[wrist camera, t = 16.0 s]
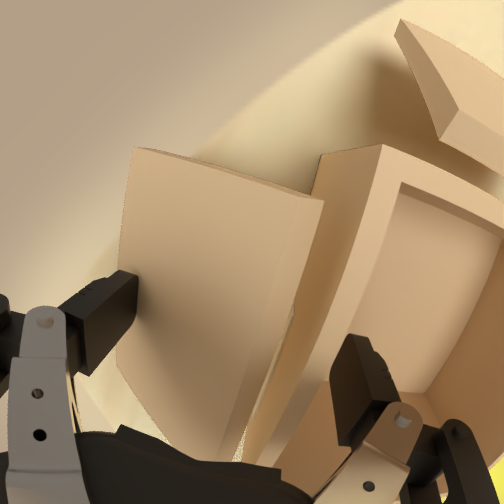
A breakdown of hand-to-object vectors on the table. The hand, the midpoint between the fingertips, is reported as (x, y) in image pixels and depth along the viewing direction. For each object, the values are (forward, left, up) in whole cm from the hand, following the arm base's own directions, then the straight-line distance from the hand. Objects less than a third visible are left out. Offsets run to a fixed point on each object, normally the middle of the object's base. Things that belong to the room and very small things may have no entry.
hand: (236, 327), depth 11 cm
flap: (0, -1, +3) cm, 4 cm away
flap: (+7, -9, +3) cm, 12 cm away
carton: (0, -9, -7) cm, 11 cm away
